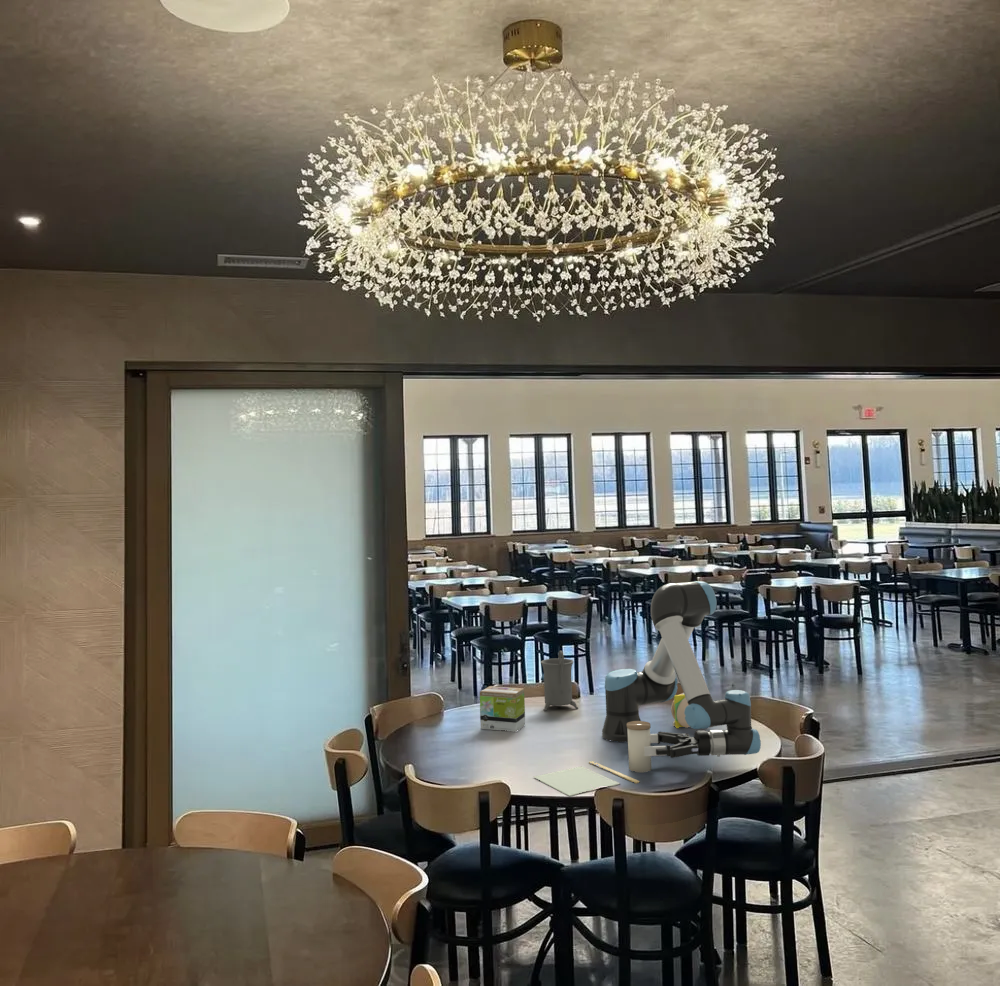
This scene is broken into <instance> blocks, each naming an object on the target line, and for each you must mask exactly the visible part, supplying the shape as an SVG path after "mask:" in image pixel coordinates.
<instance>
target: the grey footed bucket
mask: <svg viewBox="0 0 1000 986" xmlns="http://www.w3.org/2000/svg"><path fill="white" fill-rule="evenodd" d="M564 655H565V654H564V652H563V650H559V651H558V658H557V657H556V658H546V659H543V660H541V661H540V664H541V666H542V669H543V684H544V685H543V686H544V688H543V689H544V690H543V691H544V703H545V704H544V709H543V711H544V712H546V711H547V710H548V709H549V707H551V706H552V707H553V706H554V707H555V706H556V707H561V706H568V705H570V706H572V707H574V709H576V710H578V709H579V706H577V702H576V701H575V700H573V687H572V685H573V684H572V668H573V665H574V660H573V659H571V658H570V659H569V658H565V656H564Z"/></svg>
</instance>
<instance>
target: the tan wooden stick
mask: <svg viewBox="0 0 1000 986" xmlns="http://www.w3.org/2000/svg"><path fill="white" fill-rule="evenodd" d="M594 762H595V761H593V760H592V761H588V764H590V763H592V764H595V765H596V764H598V765H599V767H601V768H603V769H602V770H604V769H606V770H608V771H610V772H612V773H611V774H613V775H616V776H617V775H618V777H620V778H622V779H625V780H627V781H629V782H632V783H633V782H634V784H639V782H641V781H640V780H638V779H635V778H633V777H631V776H628V775H626V774H624V773H621V772H619V771H618V770H617V771H616V770H614V769H612V768H610V767H607V766H605V765H604V764H603V765H602V764H600V763H599V762H596V763H594ZM592 764H591V765H592ZM599 767H598V768H599ZM601 768H600V769H601ZM606 770H605V771H606ZM608 771H607V772H608ZM610 772H609V773H610Z"/></svg>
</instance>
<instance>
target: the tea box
mask: <svg viewBox="0 0 1000 986" xmlns="http://www.w3.org/2000/svg"><path fill="white" fill-rule="evenodd" d="M525 708H526V705H525V688H523V687H521V688H520V687H507V686H494V685H493V686H491V685H489V686H487V687H486V688H484V689H482V690H480V691H479V716H480V717H479V718H480V723H479V724H480V730H491V731H493V730H494V731H501V730H505V731H504V732H510V731H517V730H518V731H520V730H521V729H522V728H524V727H525V726H524V725H526V709H525ZM523 726H524V727H523ZM520 728H521V729H520ZM519 729H520V730H519ZM506 730H507V731H506ZM518 731H517V732H518Z"/></svg>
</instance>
